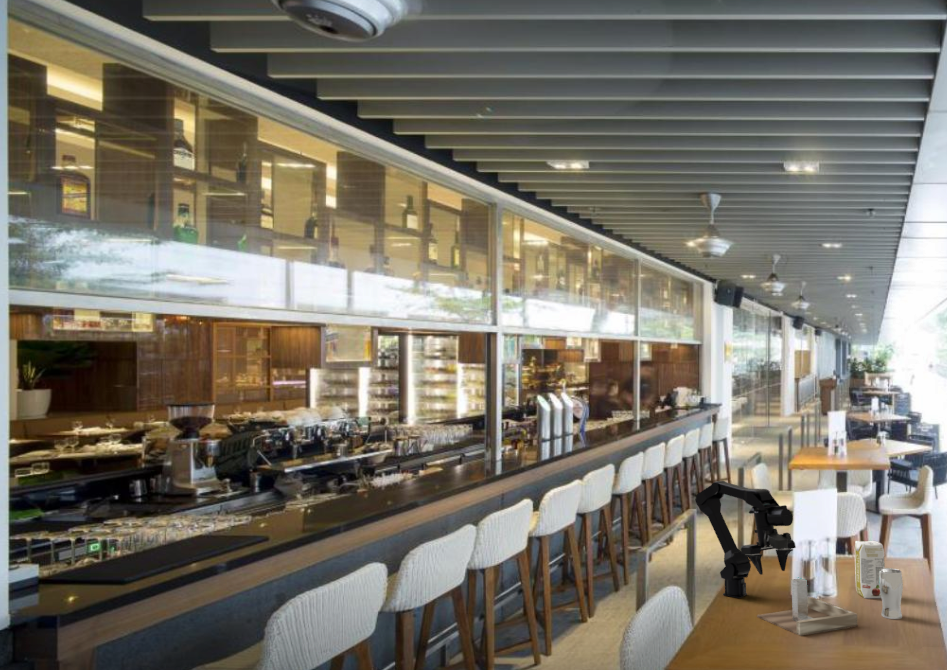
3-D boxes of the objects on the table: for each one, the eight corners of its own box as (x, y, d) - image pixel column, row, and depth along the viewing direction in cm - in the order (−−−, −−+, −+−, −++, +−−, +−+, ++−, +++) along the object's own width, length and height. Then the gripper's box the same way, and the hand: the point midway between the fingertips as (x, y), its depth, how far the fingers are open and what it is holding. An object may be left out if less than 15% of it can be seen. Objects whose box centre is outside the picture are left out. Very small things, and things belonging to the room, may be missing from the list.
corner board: (757, 616, 271) (756, 604, 271) (811, 608, 279) (811, 596, 279) (800, 635, 252) (799, 622, 252) (857, 626, 260) (857, 613, 260)
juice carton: (887, 599, 288) (886, 544, 289) (863, 599, 288) (861, 544, 289) (877, 592, 296) (876, 539, 296) (853, 593, 296) (852, 540, 296)
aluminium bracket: (792, 620, 265) (791, 579, 266) (802, 618, 267) (801, 578, 267) (806, 625, 260) (804, 584, 260) (816, 624, 261) (814, 582, 261)
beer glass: (879, 618, 268) (878, 571, 268) (880, 612, 274) (878, 566, 274) (903, 621, 264) (902, 574, 265) (903, 614, 270) (902, 569, 271)
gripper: (757, 529, 274) (765, 578, 271) (802, 523, 280) (810, 570, 277) (736, 529, 284) (744, 575, 281) (780, 523, 290) (788, 568, 287)
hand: (772, 572), depth 281 cm, fingers open, 9 cm apart
